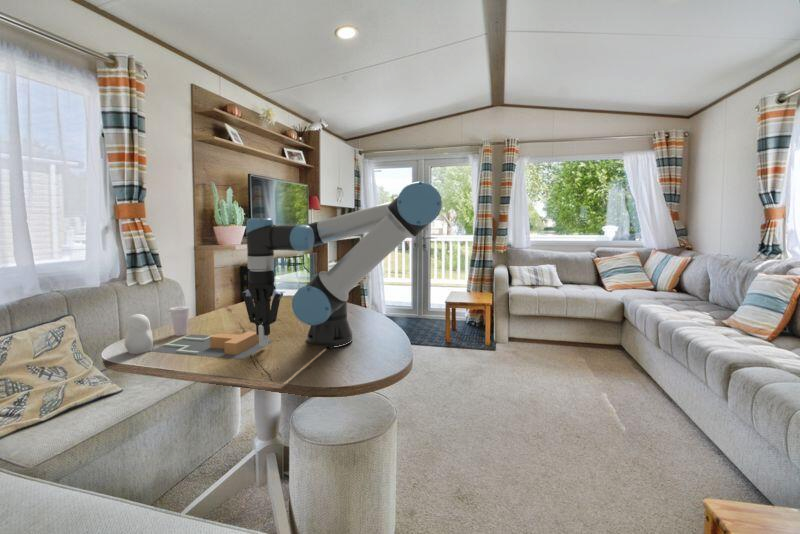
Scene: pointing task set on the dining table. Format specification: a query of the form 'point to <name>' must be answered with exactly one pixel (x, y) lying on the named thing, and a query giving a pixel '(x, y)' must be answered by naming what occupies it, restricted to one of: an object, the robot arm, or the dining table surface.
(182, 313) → the smoothie
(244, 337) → the t block
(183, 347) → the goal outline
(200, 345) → the mat
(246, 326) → the dining table surface
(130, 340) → the figurine
